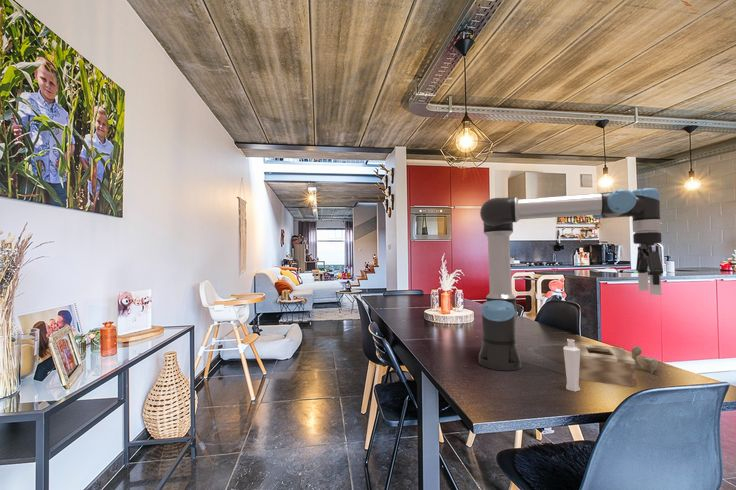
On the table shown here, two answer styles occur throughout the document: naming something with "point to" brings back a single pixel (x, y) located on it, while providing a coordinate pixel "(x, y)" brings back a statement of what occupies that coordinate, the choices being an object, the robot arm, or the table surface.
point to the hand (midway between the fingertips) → (649, 292)
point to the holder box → (606, 365)
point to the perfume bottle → (572, 365)
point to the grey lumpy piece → (651, 362)
